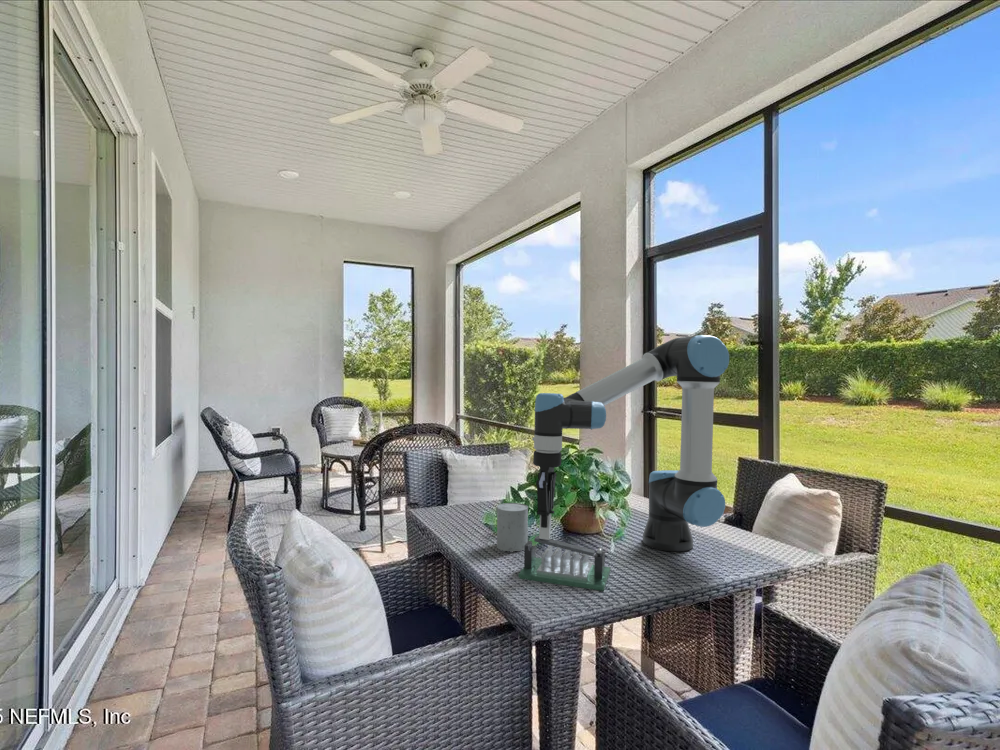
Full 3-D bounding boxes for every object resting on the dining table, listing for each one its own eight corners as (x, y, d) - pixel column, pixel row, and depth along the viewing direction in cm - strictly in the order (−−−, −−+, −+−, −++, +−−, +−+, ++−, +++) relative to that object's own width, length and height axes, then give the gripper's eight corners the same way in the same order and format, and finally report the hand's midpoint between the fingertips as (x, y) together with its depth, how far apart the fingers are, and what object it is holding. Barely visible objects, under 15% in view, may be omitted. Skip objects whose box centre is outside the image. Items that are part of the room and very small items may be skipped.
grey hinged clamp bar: (602, 554, 136) (603, 547, 136) (600, 558, 133) (601, 551, 133) (536, 538, 142) (537, 531, 142) (533, 541, 139) (534, 534, 139)
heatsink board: (610, 571, 140) (610, 545, 140) (603, 591, 128) (604, 562, 128) (532, 561, 148) (532, 535, 148) (518, 578, 135) (518, 550, 135)
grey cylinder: (504, 539, 166) (505, 501, 166) (532, 544, 162) (532, 505, 162) (491, 549, 157) (491, 508, 157) (520, 554, 153) (520, 512, 153)
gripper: (540, 446, 147) (537, 529, 147) (527, 453, 134) (524, 543, 135) (566, 448, 144) (563, 533, 144) (555, 455, 132) (552, 547, 132)
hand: (544, 538), depth 140 cm, fingers closed
